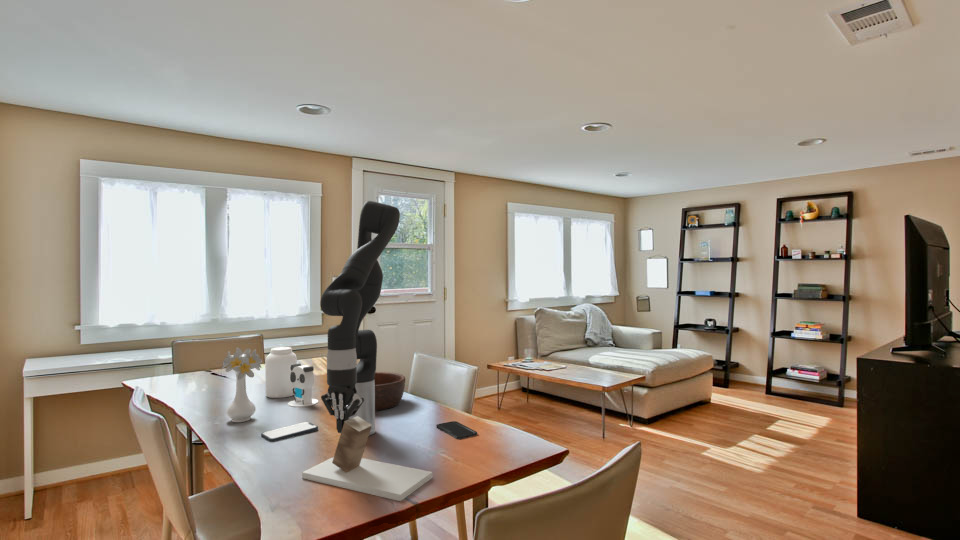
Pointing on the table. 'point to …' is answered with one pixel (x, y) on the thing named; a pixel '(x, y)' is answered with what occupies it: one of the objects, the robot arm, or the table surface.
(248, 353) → the flower vase
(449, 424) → the phone
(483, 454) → the table surface
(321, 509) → the table surface
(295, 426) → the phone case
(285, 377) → the white jar
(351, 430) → the walnut block
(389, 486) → the white board
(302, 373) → the panda figurine
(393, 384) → the wooden bowl
